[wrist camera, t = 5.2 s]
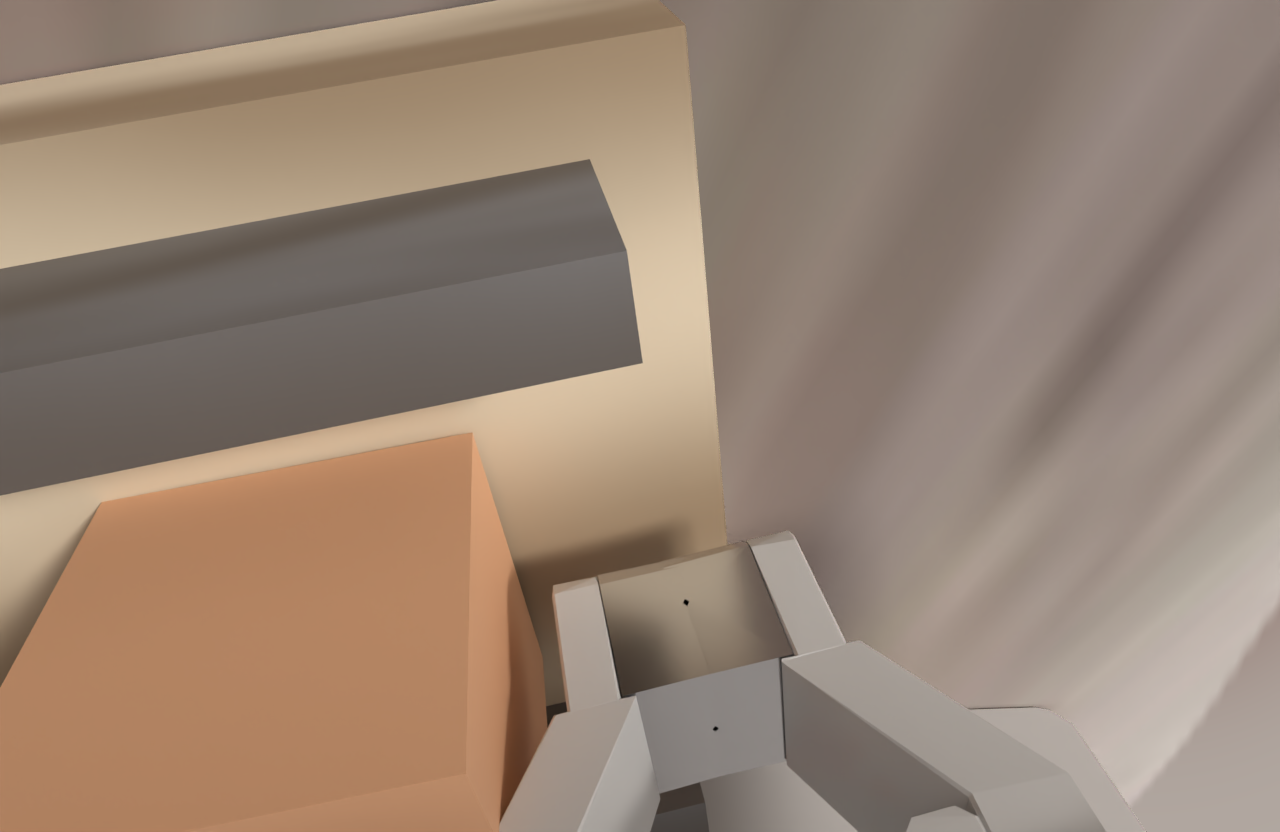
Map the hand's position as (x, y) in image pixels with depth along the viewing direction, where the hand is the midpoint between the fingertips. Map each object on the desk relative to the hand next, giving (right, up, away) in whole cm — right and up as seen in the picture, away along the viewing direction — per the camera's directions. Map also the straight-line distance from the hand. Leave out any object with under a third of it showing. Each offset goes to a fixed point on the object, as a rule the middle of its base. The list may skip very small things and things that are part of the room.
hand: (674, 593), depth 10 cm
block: (-4, 0, +1) cm, 4 cm away
